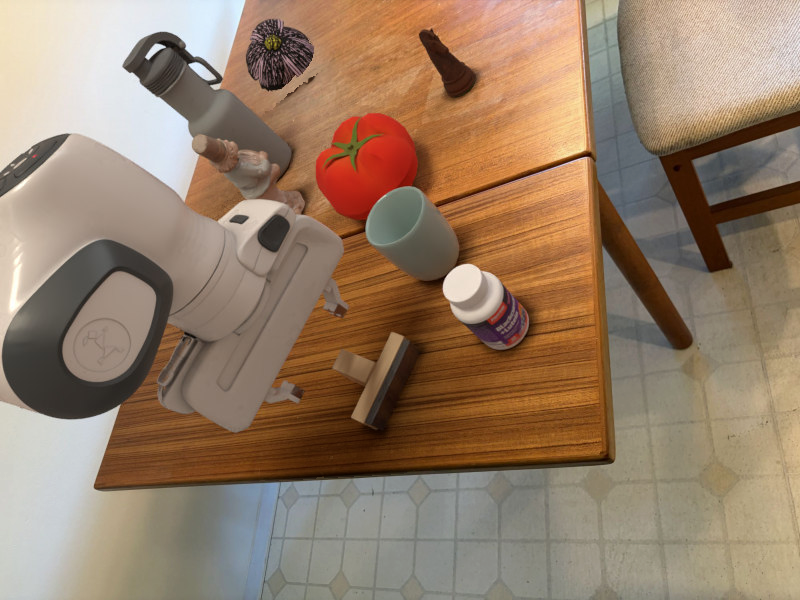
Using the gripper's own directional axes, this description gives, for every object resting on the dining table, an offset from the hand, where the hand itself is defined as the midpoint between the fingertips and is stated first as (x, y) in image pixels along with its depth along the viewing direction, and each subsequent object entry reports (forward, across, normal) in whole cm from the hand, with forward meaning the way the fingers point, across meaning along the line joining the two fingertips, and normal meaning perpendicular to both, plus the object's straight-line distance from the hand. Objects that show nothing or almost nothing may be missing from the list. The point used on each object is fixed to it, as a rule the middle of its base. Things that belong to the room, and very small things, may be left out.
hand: (320, 352), depth 56 cm
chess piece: (+9, +45, +11) cm, 47 cm away
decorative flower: (+9, +53, +56) cm, 77 cm away
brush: (+9, +1, -4) cm, 9 cm away
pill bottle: (+10, +11, -12) cm, 19 cm away
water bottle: (+10, +30, +46) cm, 56 cm away
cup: (+10, +17, 0) cm, 20 cm away
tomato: (+10, +27, +15) cm, 32 cm away
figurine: (+10, +21, +34) cm, 41 cm away
